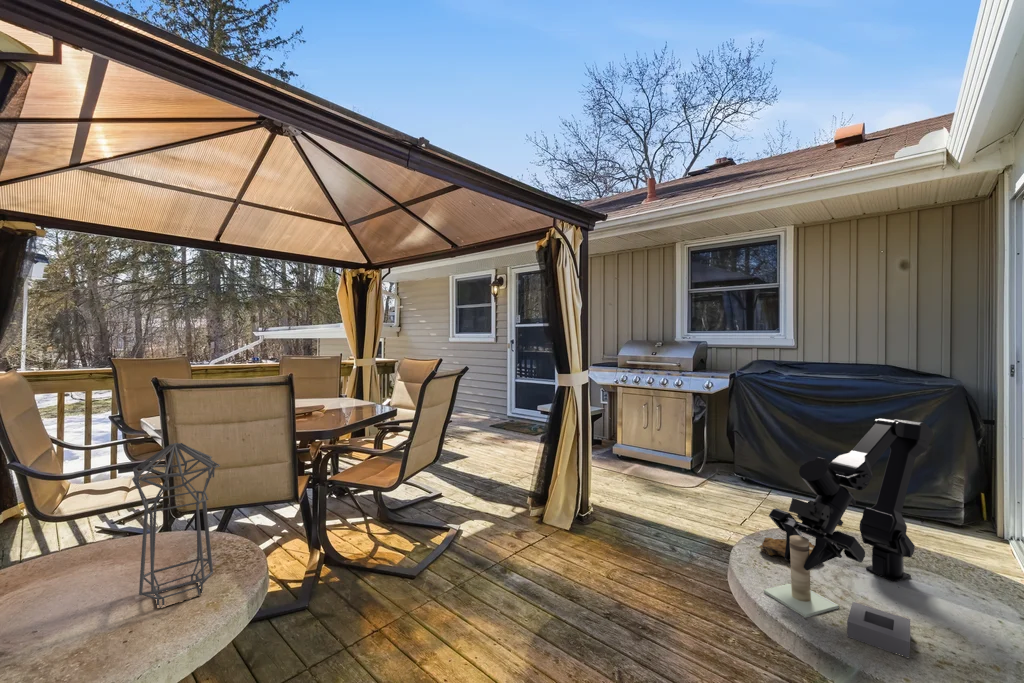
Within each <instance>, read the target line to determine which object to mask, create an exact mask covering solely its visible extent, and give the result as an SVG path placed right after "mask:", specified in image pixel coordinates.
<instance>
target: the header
mask: <svg viewBox="0 0 1024 683" xmlns="http://www.w3.org/2000/svg"><path fill="white" fill-rule="evenodd" d="M846 622H847V623H846V624H847V626H846V632H847V634H846V635H847V636H846V637H848V638H850V639H852V640H856V641H858V642H861V643H864V642H865V643H864V644H867V645H869V644H870V646H872V647H874V648H878V649H881V650H884V651H886V652H890V653H892V652H893V654H895V653H897V654H900V655H903V656H905V657H904V658H906V657H909V658H910V656H909V654H910V652H911V619H910V618H908V617H904V616H900V615H898V614H894V613H891V612H888V611H884V610H882V609H878V608H874V607H871V606H869V605H866V604H862V603H860V602H856V601H852V603H851V606H850V609H849V613H848V617H847V621H846ZM897 654H896V655H897ZM900 655H899V656H900ZM903 656H902V657H903Z"/></svg>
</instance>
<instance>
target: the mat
mask: <svg viewBox="0 0 1024 683" xmlns="http://www.w3.org/2000/svg"><path fill="white" fill-rule="evenodd" d="M763 593H764V594H765V595H768V596H769V597H770V598H773V599H774V600H776V601H777V602H779V603H781V604H782V605H784V606H786V607H787V608H788V609H791V610H792V611H794V612H795V613H797V614H798V615H801V616H802V617H803V618H809V617H812V616H816V615H820V614H824V613H826V612H830V611H834V610H837V609H840V604H838V603H835V602H833V601H832V600H830V599H828V598H826V597H825V596H823V595H820V594H819V593H817V592H816V591H813V590H811V600H810V601H808V602H804V601H800V600H797V599H795V598H794V597H793V596H792V590H791V582H790V583H786V584H782V585H777V586H774V587H769V588H765V589H763Z"/></svg>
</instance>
